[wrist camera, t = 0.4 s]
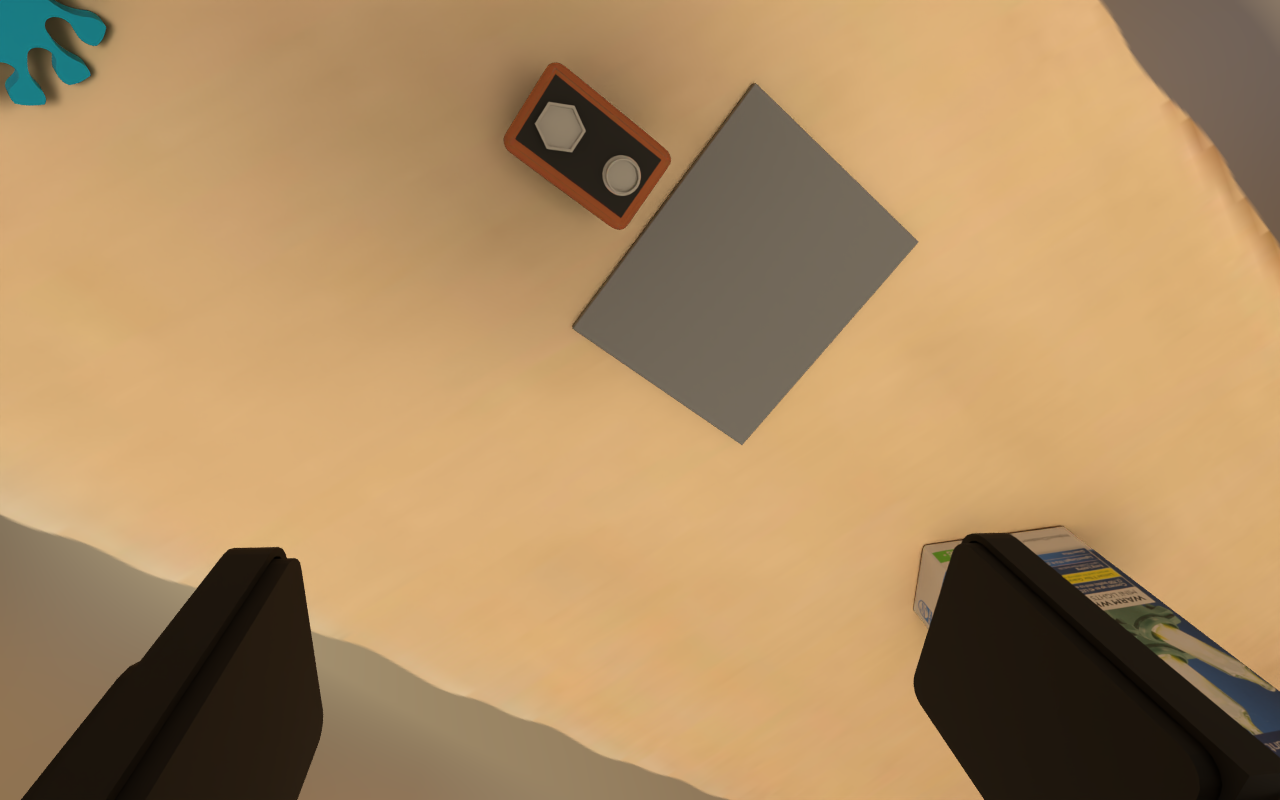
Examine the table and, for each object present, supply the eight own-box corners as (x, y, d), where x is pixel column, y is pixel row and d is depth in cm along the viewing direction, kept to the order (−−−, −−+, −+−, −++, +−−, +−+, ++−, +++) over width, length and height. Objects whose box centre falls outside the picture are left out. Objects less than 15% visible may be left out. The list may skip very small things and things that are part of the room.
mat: (572, 326, 41) (572, 328, 40) (752, 83, 37) (755, 83, 36) (739, 441, 46) (742, 445, 45) (913, 240, 42) (918, 242, 41)
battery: (550, 73, 35) (554, 53, 26) (646, 151, 37) (681, 157, 28) (507, 142, 36) (497, 144, 27) (604, 213, 38) (624, 238, 29)
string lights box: (1064, 523, 54) (1471, 825, 30) (1047, 593, 57) (1404, 917, 33) (919, 544, 52) (1229, 880, 29) (909, 615, 55) (1182, 970, 32)
